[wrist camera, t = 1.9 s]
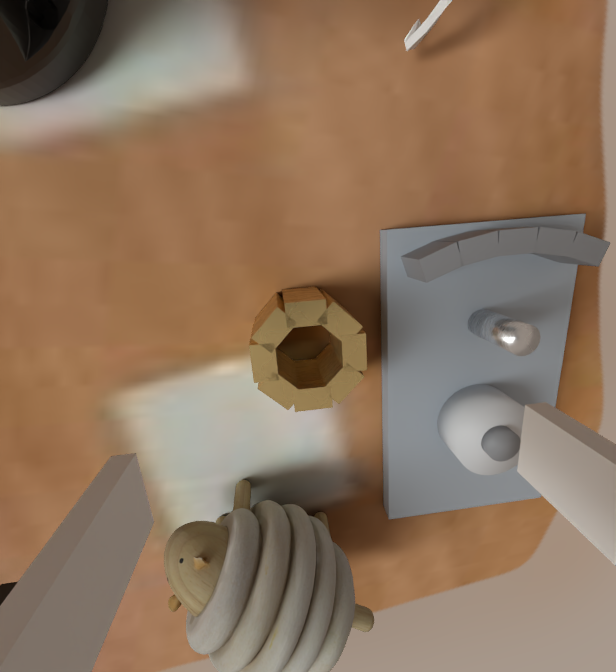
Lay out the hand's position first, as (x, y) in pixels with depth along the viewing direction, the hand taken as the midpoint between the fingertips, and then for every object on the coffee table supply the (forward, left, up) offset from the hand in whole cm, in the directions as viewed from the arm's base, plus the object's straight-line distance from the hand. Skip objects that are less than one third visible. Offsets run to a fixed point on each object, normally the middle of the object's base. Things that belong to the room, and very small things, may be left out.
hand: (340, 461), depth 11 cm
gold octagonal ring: (0, 0, -14) cm, 14 cm away
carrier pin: (0, +13, -13) cm, 18 cm away
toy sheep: (+17, -4, -15) cm, 23 cm away
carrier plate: (+5, +13, -14) cm, 20 cm away
